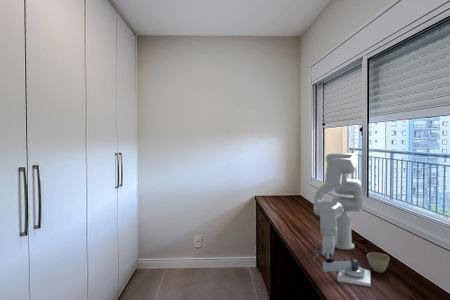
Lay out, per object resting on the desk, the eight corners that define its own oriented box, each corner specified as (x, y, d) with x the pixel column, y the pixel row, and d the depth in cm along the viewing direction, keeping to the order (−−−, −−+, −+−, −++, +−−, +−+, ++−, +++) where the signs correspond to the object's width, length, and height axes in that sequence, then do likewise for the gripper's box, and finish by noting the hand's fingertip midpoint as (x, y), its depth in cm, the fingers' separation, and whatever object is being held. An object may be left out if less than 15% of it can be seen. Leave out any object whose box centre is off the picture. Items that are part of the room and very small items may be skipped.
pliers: (315, 262, 155) (305, 248, 175) (315, 264, 155) (305, 250, 175) (333, 261, 155) (320, 247, 175) (333, 263, 155) (320, 249, 175)
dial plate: (340, 268, 148) (340, 265, 148) (370, 273, 142) (370, 269, 141) (337, 281, 135) (337, 277, 135) (370, 286, 129) (370, 282, 129)
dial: (358, 268, 143) (358, 256, 143) (368, 277, 134) (367, 264, 134) (320, 270, 143) (320, 258, 143) (327, 279, 134) (326, 266, 134)
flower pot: (368, 264, 151) (367, 251, 151) (389, 268, 146) (389, 254, 146) (366, 272, 142) (366, 258, 142) (389, 276, 137) (389, 262, 137)
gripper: (322, 225, 149) (324, 259, 150) (318, 234, 136) (320, 272, 137) (338, 226, 146) (339, 261, 147) (335, 236, 132) (336, 274, 133)
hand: (330, 266), depth 142 cm, fingers closed
